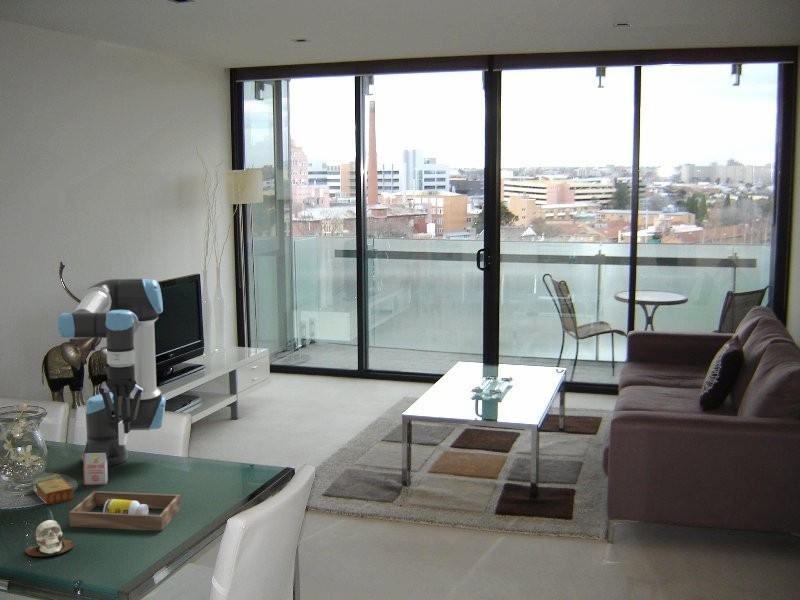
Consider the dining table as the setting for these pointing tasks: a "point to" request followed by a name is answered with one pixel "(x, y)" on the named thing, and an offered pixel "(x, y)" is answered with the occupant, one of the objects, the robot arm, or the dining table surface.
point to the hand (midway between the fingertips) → (123, 443)
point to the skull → (49, 540)
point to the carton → (54, 489)
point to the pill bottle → (125, 507)
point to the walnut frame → (125, 521)
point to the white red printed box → (95, 469)
